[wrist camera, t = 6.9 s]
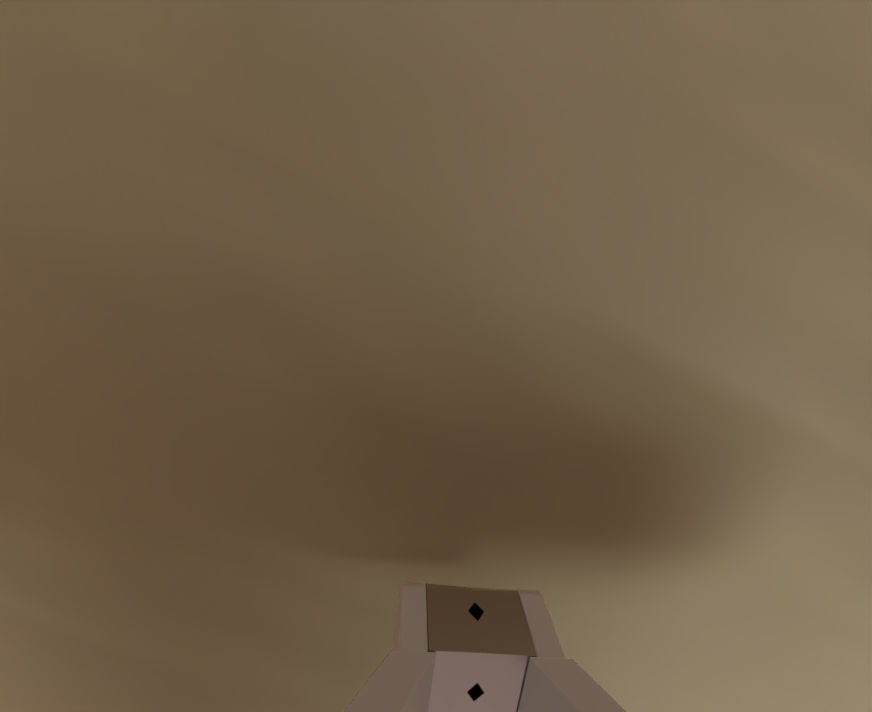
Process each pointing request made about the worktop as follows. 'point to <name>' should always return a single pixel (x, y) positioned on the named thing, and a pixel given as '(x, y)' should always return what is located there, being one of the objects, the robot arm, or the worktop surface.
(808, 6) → the worktop surface
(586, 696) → the robot arm
